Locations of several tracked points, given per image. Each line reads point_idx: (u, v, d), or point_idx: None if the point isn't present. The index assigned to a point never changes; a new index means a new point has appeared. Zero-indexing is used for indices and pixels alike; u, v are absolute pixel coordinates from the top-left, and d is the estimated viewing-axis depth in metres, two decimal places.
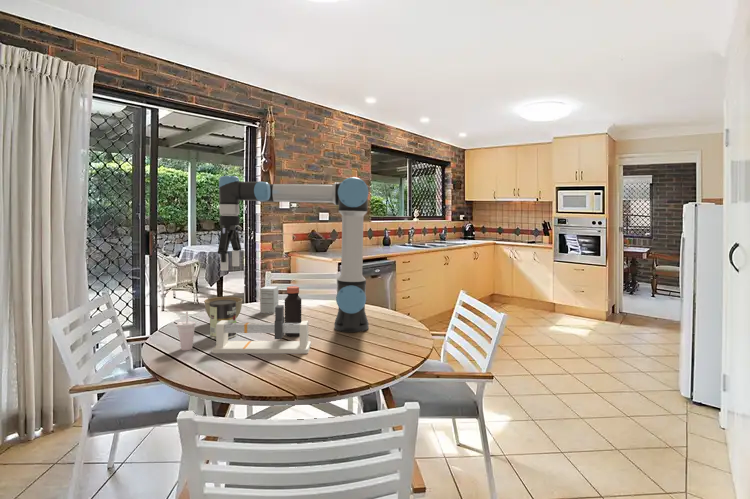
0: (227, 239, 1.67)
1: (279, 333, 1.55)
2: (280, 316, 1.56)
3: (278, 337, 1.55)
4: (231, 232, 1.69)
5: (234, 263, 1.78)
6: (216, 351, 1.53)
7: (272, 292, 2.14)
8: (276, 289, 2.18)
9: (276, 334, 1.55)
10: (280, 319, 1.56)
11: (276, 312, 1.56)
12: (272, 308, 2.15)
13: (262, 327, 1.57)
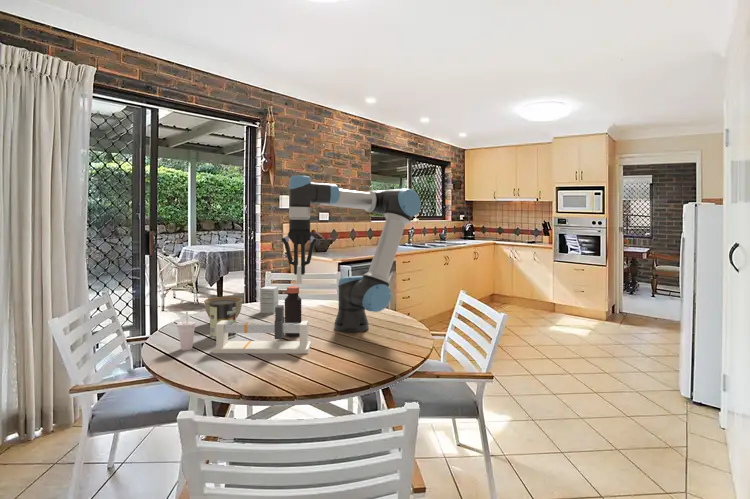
0: (294, 248, 1.55)
1: (279, 333, 1.55)
2: (280, 316, 1.56)
3: (278, 337, 1.55)
4: (293, 239, 1.54)
5: None
6: (216, 351, 1.53)
7: (272, 292, 2.14)
8: (276, 289, 2.18)
9: (276, 334, 1.55)
10: (280, 319, 1.56)
11: (276, 312, 1.56)
12: (272, 308, 2.15)
13: (262, 327, 1.57)
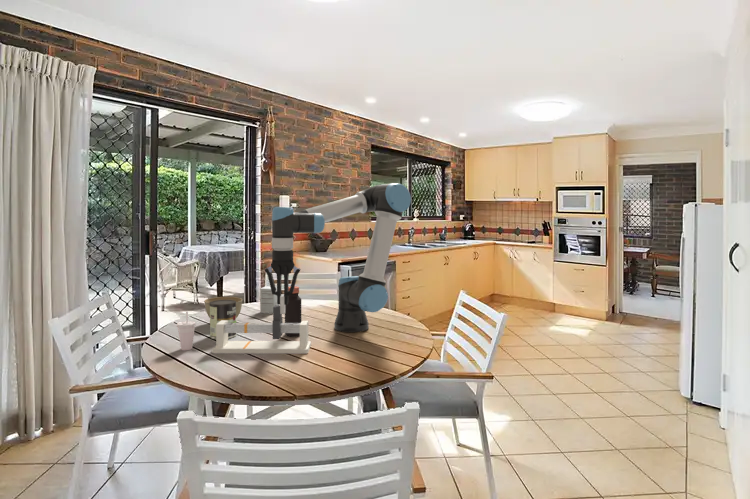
0: (277, 278, 1.56)
1: (277, 333, 1.55)
2: (278, 316, 1.56)
3: (276, 337, 1.55)
4: (276, 269, 1.55)
5: None
6: (216, 351, 1.53)
7: None
8: (276, 289, 2.18)
9: (274, 334, 1.55)
10: (278, 319, 1.56)
11: (274, 312, 1.56)
12: (272, 308, 2.15)
13: (262, 327, 1.57)
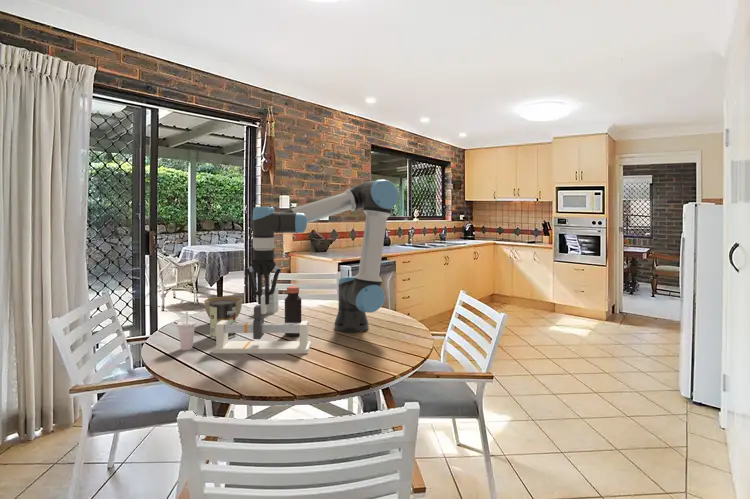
0: (258, 278, 1.56)
1: (258, 333, 1.55)
2: (259, 316, 1.56)
3: (257, 337, 1.55)
4: (257, 269, 1.55)
5: None
6: (216, 351, 1.53)
7: None
8: (276, 289, 2.18)
9: (255, 334, 1.55)
10: (259, 319, 1.56)
11: (255, 312, 1.55)
12: (272, 308, 2.15)
13: (262, 327, 1.57)
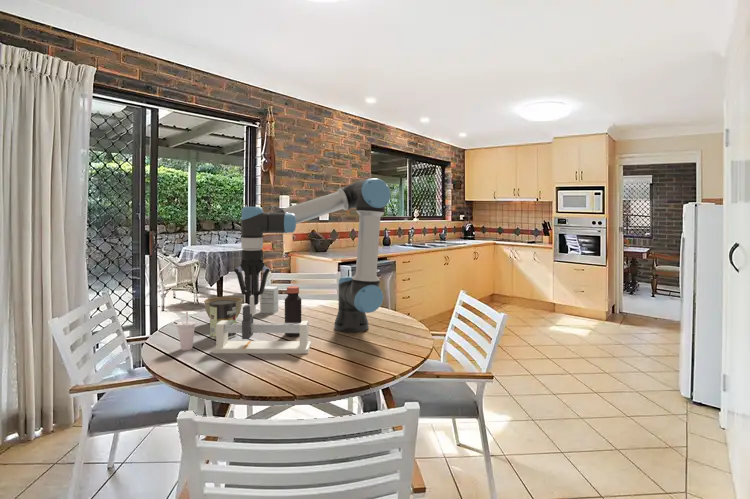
0: None
1: (246, 333, 1.55)
2: (248, 316, 1.55)
3: (246, 337, 1.55)
4: (246, 269, 1.55)
5: None
6: (216, 351, 1.53)
7: (272, 292, 2.14)
8: (276, 289, 2.18)
9: (243, 334, 1.55)
10: (248, 319, 1.56)
11: (244, 312, 1.55)
12: (272, 308, 2.15)
13: (262, 327, 1.57)
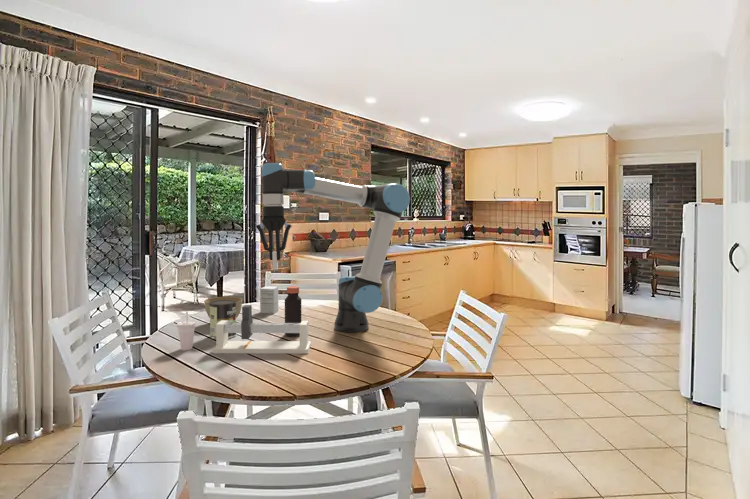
0: None
1: (246, 333, 1.55)
2: (247, 316, 1.55)
3: (245, 337, 1.55)
4: (268, 225, 1.58)
5: None
6: (216, 351, 1.53)
7: (272, 292, 2.14)
8: (276, 289, 2.18)
9: (243, 334, 1.55)
10: (247, 319, 1.56)
11: (243, 312, 1.55)
12: (272, 308, 2.15)
13: (262, 327, 1.57)
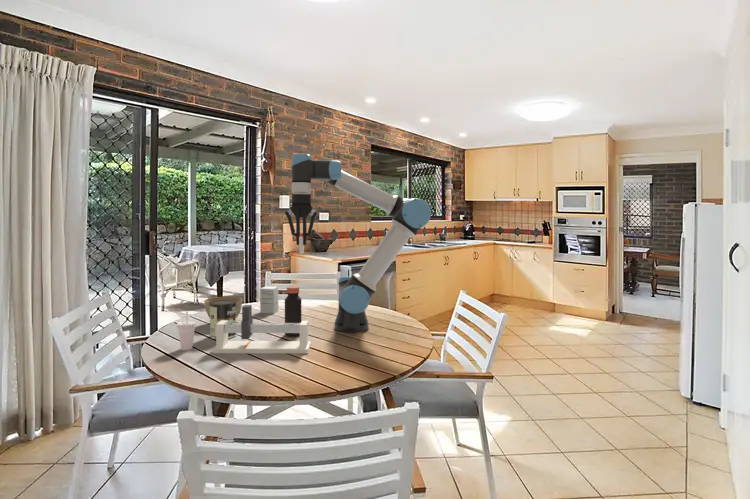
0: (296, 221, 1.70)
1: (246, 333, 1.55)
2: (247, 316, 1.55)
3: (245, 337, 1.55)
4: (296, 212, 1.68)
5: None
6: (216, 351, 1.53)
7: (272, 292, 2.14)
8: (276, 289, 2.18)
9: (243, 334, 1.55)
10: (247, 319, 1.56)
11: (243, 312, 1.55)
12: (272, 308, 2.15)
13: (262, 327, 1.57)
